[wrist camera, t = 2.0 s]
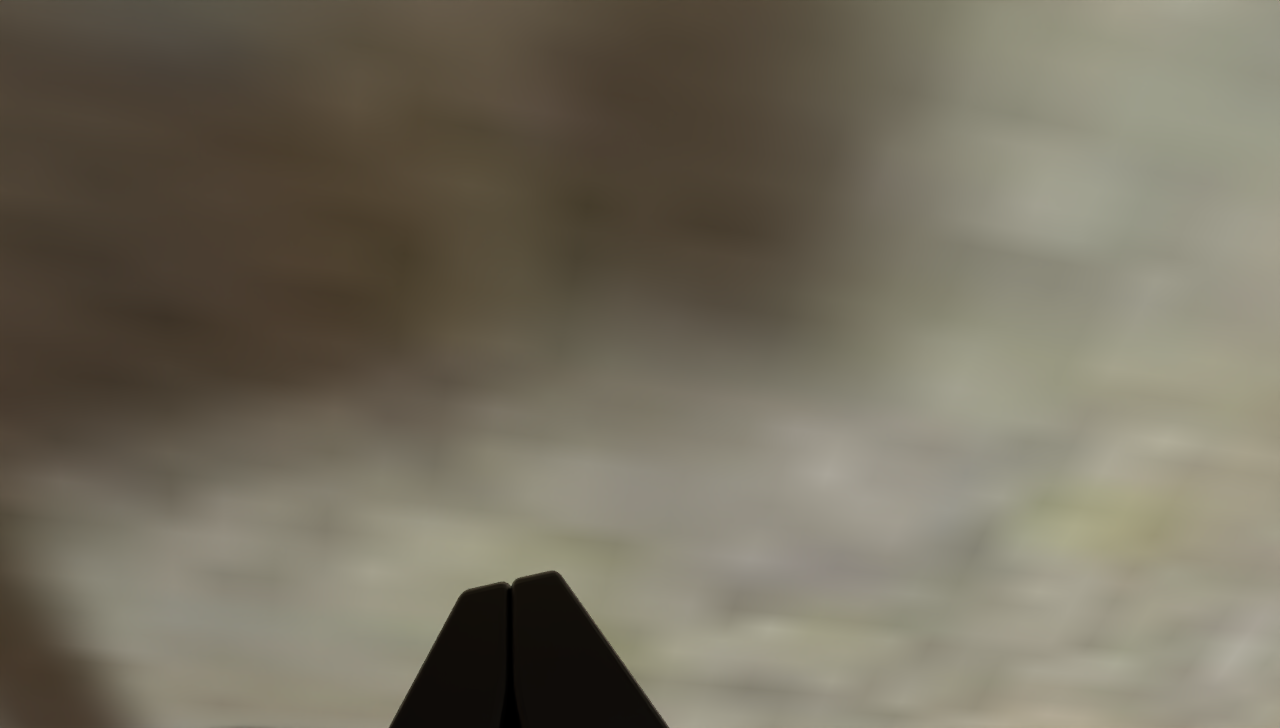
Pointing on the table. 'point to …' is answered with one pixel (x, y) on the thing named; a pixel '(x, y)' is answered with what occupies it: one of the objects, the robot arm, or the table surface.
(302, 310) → the table surface
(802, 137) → the table surface
